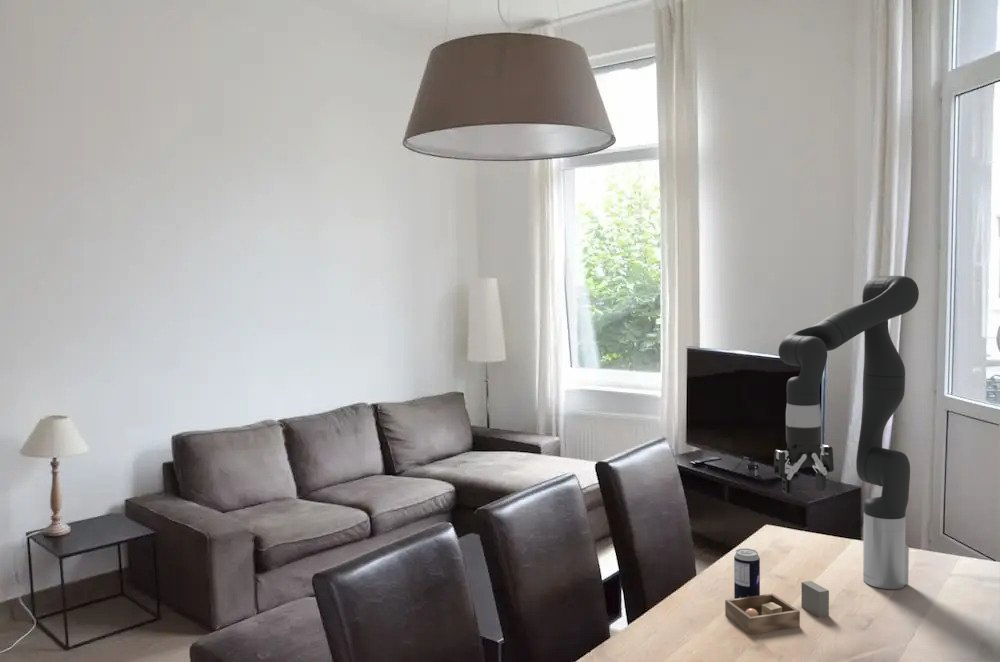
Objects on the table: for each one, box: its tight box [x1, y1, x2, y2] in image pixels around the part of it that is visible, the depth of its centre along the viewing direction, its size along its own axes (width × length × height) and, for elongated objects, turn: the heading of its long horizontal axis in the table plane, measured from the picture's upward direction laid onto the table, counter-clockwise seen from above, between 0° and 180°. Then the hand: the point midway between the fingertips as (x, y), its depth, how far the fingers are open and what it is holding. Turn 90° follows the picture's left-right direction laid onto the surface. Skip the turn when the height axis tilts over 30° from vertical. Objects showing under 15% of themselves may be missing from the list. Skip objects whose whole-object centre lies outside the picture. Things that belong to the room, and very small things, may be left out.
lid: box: [801, 580, 830, 618], centre depth 176 cm, size 12×10×7 cm
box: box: [724, 593, 801, 635], centre depth 172 cm, size 12×10×4 cm
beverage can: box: [733, 548, 761, 599], centre depth 183 cm, size 6×6×12 cm
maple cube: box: [762, 602, 782, 615], centre depth 173 cm, size 3×3×3 cm
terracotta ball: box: [745, 608, 759, 617], centre depth 171 cm, size 3×3×3 cm
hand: (804, 492), depth 180 cm, fingers open, 8 cm apart
